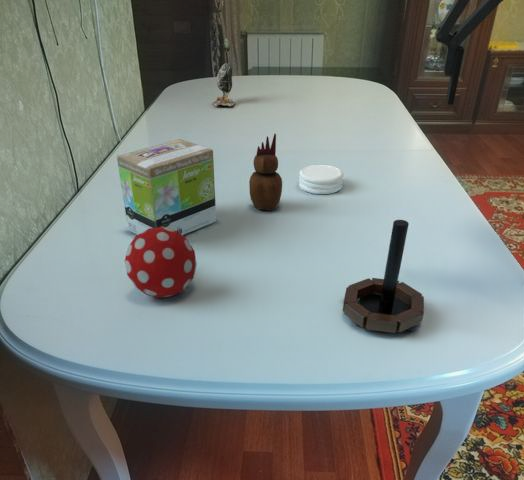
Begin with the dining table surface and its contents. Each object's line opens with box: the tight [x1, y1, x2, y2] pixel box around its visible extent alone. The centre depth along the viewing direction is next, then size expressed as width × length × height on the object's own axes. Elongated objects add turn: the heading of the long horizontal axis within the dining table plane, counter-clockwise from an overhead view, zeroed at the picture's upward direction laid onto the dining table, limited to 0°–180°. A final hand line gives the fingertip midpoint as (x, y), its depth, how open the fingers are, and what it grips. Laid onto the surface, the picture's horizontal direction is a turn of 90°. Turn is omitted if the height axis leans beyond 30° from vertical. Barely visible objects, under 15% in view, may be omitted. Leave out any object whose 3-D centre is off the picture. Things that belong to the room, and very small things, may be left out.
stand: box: [355, 219, 414, 333], centre depth 73 cm, size 8×8×15 cm
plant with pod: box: [212, 37, 236, 107], centre depth 169 cm, size 8×11×20 cm
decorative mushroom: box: [124, 227, 197, 299], centre depth 82 cm, size 11×11×15 cm
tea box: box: [116, 138, 217, 236], centre depth 96 cm, size 15×10×15 cm, turn 137°
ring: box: [342, 277, 425, 334], centre depth 76 cm, size 12×12×2 cm
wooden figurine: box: [248, 133, 283, 211], centre depth 103 cm, size 7×6×15 cm
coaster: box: [298, 164, 344, 195], centre depth 116 cm, size 10×10×4 cm
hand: (501, 103), depth 68 cm, fingers open, 13 cm apart
